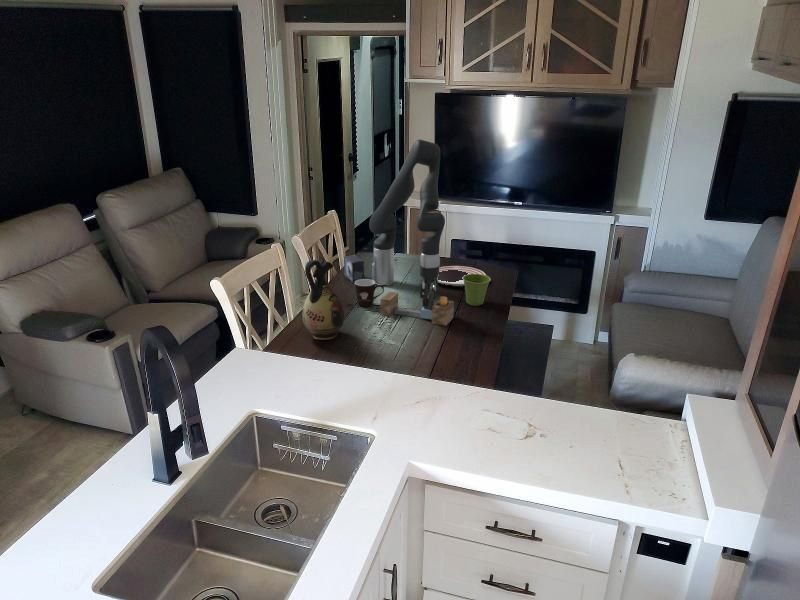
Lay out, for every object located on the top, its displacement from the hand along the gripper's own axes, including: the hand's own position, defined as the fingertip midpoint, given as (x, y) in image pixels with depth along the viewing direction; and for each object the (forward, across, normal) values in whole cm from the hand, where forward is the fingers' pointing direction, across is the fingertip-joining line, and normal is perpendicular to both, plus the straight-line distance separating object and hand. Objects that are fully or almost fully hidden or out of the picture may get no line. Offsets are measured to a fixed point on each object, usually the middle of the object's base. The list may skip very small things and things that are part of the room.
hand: (428, 303), depth 234 cm
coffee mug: (+7, -3, -28) cm, 29 cm away
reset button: (0, 0, +6) cm, 6 cm away
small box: (+7, -30, -48) cm, 57 cm away
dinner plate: (+7, -48, -3) cm, 49 cm away
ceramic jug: (+7, +31, -31) cm, 44 cm away
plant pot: (+7, -23, +13) cm, 27 cm away
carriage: (+6, 0, 0) cm, 6 cm away
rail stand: (+6, 0, -5) cm, 8 cm away
